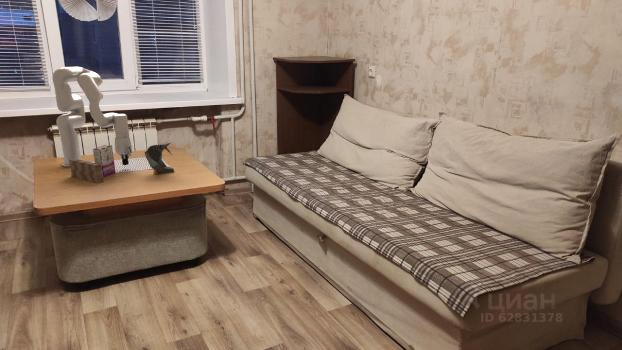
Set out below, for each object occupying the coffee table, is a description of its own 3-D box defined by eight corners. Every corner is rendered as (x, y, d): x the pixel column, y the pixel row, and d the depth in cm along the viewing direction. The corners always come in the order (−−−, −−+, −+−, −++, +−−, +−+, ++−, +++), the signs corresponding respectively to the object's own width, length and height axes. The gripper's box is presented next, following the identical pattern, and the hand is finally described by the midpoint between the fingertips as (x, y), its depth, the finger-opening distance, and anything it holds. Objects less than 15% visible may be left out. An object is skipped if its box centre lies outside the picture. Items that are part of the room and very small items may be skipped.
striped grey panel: (71, 176, 252) (69, 159, 250) (76, 175, 255) (74, 158, 252) (98, 183, 241) (95, 165, 238) (103, 181, 243) (100, 164, 241)
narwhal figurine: (146, 170, 266) (143, 141, 261) (173, 168, 271) (170, 139, 266) (146, 176, 253) (143, 146, 248) (174, 174, 258) (172, 144, 253)
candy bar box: (108, 171, 264) (104, 144, 259) (115, 171, 263) (112, 144, 258) (95, 176, 253) (92, 148, 249) (103, 177, 252) (100, 149, 248)
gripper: (108, 134, 264) (112, 164, 269) (125, 137, 257) (128, 167, 262) (119, 132, 270) (122, 161, 275) (136, 135, 263) (139, 165, 268)
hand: (125, 164), depth 269 cm, fingers closed
